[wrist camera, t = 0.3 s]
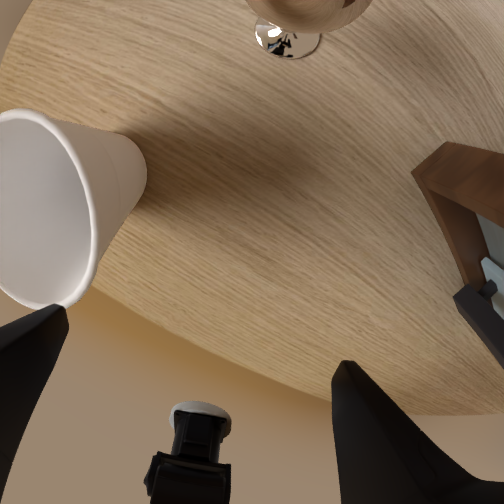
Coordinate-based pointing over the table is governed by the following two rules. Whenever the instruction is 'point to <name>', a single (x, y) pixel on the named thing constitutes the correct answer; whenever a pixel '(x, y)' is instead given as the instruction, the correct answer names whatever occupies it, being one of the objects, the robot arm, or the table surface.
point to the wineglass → (300, 23)
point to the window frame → (467, 205)
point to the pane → (486, 309)
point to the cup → (60, 203)
